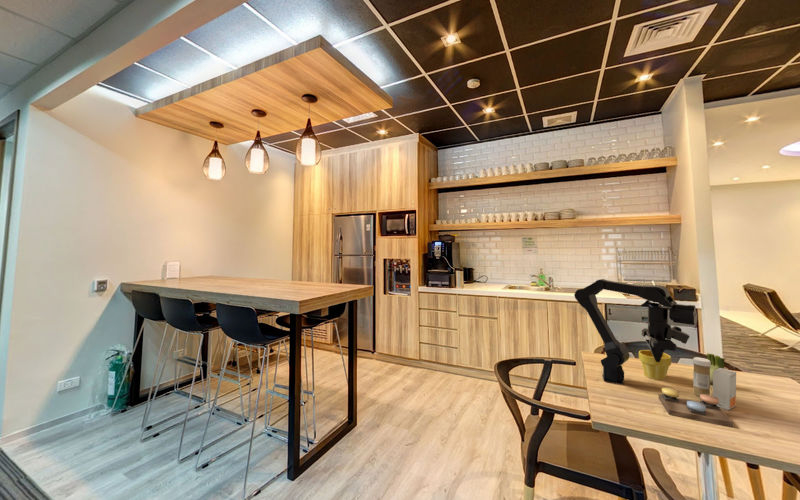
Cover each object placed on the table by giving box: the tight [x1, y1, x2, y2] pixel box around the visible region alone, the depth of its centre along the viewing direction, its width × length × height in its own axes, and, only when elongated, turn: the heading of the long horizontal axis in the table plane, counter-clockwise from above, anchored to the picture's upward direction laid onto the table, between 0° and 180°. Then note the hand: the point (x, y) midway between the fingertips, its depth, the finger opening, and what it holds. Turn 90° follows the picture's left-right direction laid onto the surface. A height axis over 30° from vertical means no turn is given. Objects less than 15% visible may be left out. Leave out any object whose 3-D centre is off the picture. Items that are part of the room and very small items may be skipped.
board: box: [658, 393, 734, 428], centre depth 100 cm, size 15×12×2 cm
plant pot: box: [638, 349, 672, 381], centre depth 127 cm, size 10×10×10 cm
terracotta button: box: [699, 394, 719, 405], centre depth 101 cm, size 4×4×2 cm
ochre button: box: [661, 387, 680, 398], centre depth 105 cm, size 4×4×2 cm
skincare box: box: [712, 368, 737, 411], centre depth 104 cm, size 6×4×12 cm
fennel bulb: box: [706, 352, 726, 386], centre depth 120 cm, size 6×5×12 cm
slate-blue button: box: [687, 400, 706, 412], centre depth 98 cm, size 4×4×2 cm
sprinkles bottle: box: [692, 356, 711, 398], centre depth 111 cm, size 5×5×14 cm
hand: (657, 361), depth 112 cm, fingers closed
